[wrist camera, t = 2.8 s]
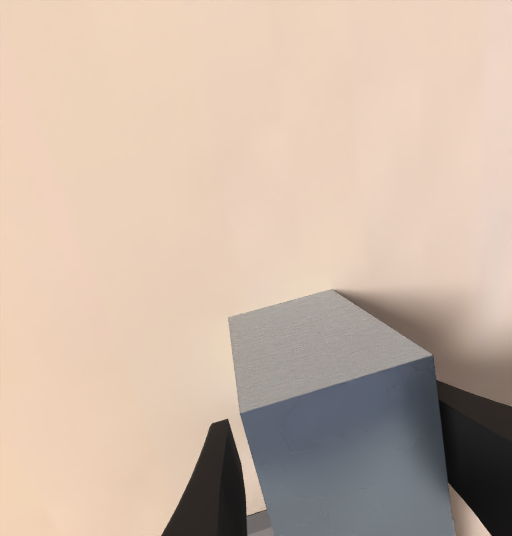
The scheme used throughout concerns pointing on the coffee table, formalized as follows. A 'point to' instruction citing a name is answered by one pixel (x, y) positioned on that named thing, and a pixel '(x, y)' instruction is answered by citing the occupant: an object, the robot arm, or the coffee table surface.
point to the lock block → (340, 421)
